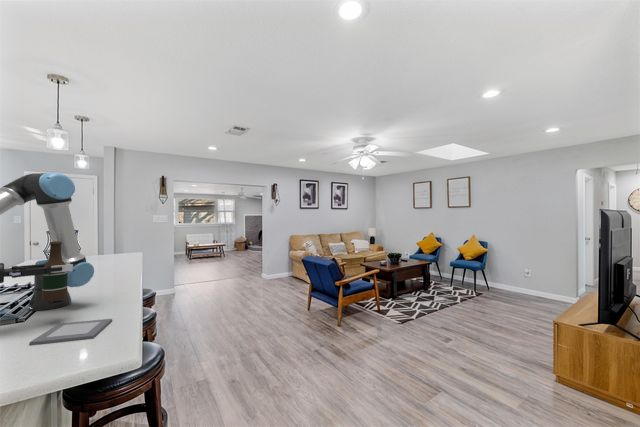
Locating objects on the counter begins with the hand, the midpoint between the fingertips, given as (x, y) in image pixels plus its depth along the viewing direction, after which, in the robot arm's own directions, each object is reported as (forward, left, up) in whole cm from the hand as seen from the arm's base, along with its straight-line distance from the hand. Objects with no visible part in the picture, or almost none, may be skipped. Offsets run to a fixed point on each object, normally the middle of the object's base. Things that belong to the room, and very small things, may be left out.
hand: (71, 266), depth 119 cm
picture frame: (+16, +9, -23) cm, 29 cm away
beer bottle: (+2, -4, -13) cm, 14 cm away
